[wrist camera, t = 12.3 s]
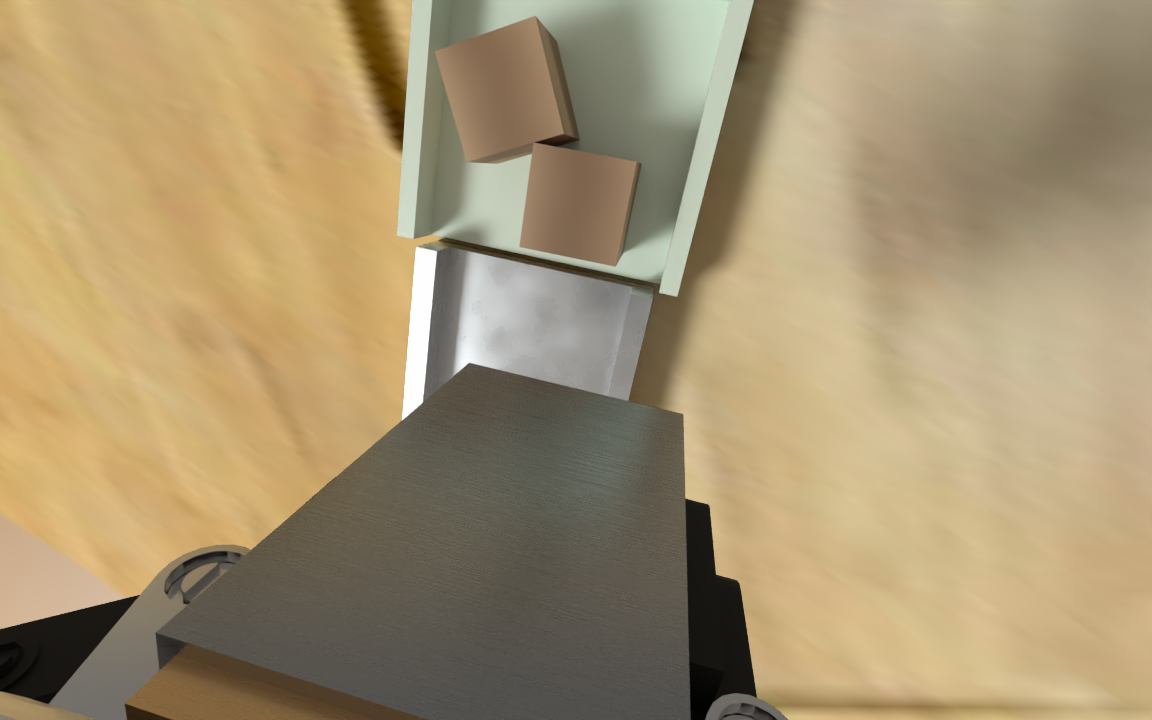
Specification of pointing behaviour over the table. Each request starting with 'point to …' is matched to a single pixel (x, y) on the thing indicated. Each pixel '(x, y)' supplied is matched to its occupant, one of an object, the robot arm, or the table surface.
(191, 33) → the table surface
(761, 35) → the table surface
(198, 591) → the robot arm
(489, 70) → the brown cube
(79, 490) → the table surface
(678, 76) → the tray
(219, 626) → the orange and gray block
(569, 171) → the tan cardboard cube
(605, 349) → the open rectangular box
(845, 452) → the table surface
